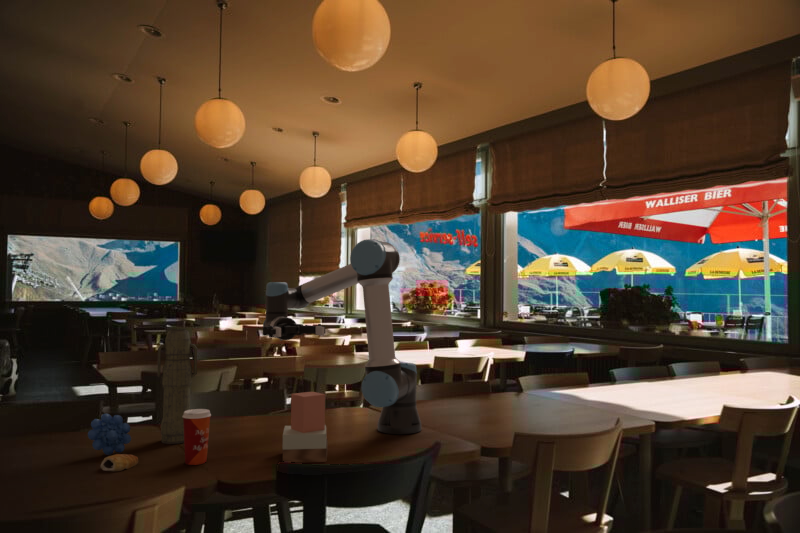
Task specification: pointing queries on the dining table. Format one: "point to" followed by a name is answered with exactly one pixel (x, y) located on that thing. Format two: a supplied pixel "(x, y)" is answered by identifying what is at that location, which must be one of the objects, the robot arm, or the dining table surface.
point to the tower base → (305, 455)
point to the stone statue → (176, 383)
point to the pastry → (118, 462)
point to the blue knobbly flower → (109, 434)
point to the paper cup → (196, 435)
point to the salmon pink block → (307, 411)
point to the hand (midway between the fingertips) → (301, 331)
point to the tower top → (303, 439)
